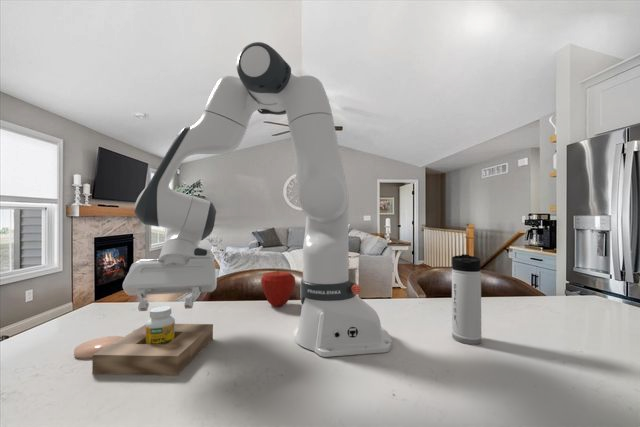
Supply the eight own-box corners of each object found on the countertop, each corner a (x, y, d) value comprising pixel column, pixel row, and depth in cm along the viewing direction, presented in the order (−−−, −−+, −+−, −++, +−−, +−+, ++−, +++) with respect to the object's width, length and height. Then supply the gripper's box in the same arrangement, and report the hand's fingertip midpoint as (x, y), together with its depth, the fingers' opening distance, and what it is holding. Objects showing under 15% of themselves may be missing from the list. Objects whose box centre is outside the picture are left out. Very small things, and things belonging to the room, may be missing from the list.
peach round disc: (134, 340, 67) (134, 336, 67) (104, 359, 58) (105, 354, 58) (97, 340, 67) (97, 335, 67) (62, 358, 58) (62, 353, 58)
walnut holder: (212, 338, 68) (213, 324, 68) (177, 375, 52) (177, 356, 52) (147, 338, 68) (147, 323, 69) (92, 373, 53) (92, 354, 53)
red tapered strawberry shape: (301, 304, 96) (301, 268, 97) (280, 312, 87) (280, 273, 88) (276, 299, 102) (276, 265, 103) (254, 306, 93) (254, 270, 93)
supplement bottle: (173, 346, 64) (173, 303, 64) (176, 356, 60) (176, 309, 60) (144, 352, 61) (145, 307, 61) (145, 363, 57) (146, 314, 57)
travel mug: (480, 336, 70) (479, 254, 71) (482, 347, 64) (481, 258, 65) (452, 331, 73) (451, 253, 73) (452, 341, 67) (451, 256, 67)
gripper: (129, 252, 69) (108, 304, 60) (218, 250, 74) (211, 299, 64) (137, 267, 74) (118, 318, 64) (220, 265, 78) (214, 312, 68)
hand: (165, 308), depth 64 cm, fingers open, 8 cm apart
